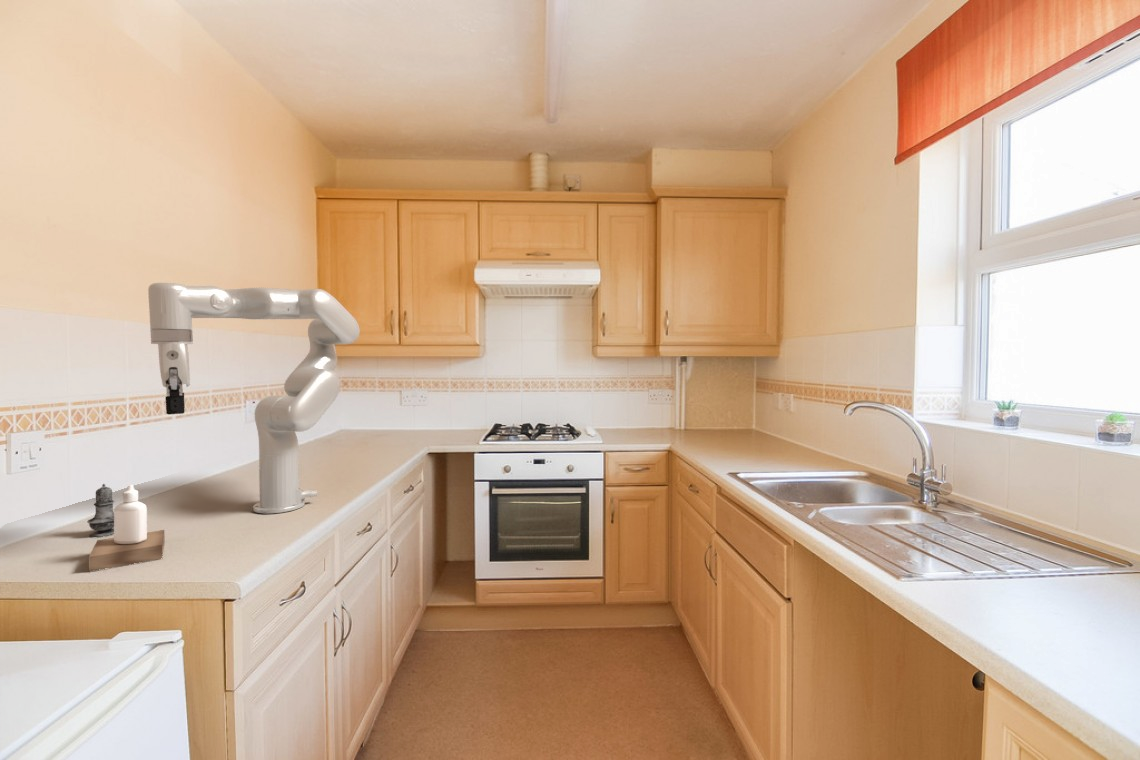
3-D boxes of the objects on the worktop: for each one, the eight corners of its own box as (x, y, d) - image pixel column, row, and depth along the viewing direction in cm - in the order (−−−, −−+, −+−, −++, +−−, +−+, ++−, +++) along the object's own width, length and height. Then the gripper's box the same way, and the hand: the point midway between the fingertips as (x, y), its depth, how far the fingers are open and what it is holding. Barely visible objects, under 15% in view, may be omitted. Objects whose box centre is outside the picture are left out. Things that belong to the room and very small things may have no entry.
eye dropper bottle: (122, 547, 100) (122, 488, 100) (111, 542, 103) (112, 485, 103) (149, 541, 104) (149, 484, 104) (138, 536, 107) (138, 481, 107)
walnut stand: (164, 542, 111) (164, 529, 111) (162, 558, 102) (161, 544, 102) (97, 553, 104) (97, 540, 104) (89, 572, 96) (88, 557, 96)
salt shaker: (128, 529, 119) (127, 481, 119) (103, 538, 113) (101, 487, 113) (106, 528, 120) (105, 480, 119) (80, 537, 114) (78, 486, 113)
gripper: (193, 337, 108) (196, 414, 109) (192, 338, 122) (195, 406, 123) (148, 337, 104) (152, 417, 105) (152, 338, 117) (156, 409, 118)
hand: (176, 411), depth 114 cm, fingers open, 9 cm apart
